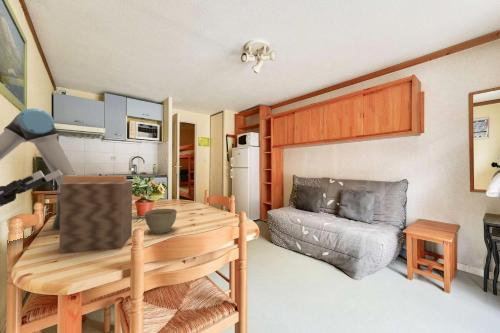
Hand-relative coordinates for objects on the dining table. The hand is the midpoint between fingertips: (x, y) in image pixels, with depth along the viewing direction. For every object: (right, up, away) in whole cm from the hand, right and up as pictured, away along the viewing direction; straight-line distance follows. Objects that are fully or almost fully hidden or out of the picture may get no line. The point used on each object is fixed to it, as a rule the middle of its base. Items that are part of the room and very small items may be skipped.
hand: (52, 172), depth 95 cm
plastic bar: (+16, -4, +5) cm, 17 cm away
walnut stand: (+19, -32, +2) cm, 38 cm away
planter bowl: (+39, -33, +21) cm, 56 cm away
